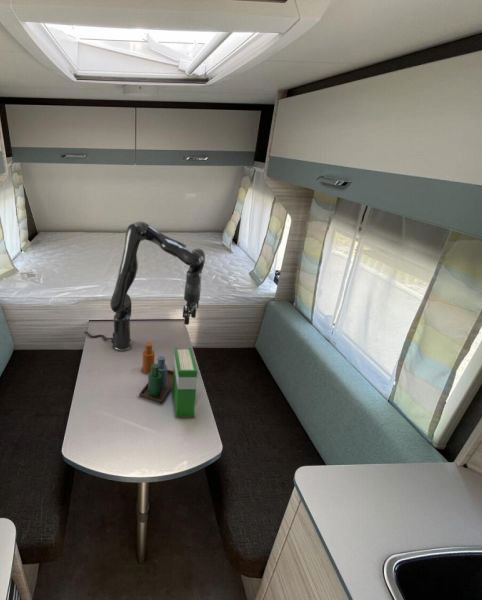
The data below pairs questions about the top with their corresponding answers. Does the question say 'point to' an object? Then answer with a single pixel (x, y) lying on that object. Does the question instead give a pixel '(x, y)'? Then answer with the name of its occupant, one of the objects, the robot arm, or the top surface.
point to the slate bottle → (162, 371)
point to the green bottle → (154, 381)
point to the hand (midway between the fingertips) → (189, 320)
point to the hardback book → (184, 382)
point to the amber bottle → (148, 358)
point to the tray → (163, 392)
